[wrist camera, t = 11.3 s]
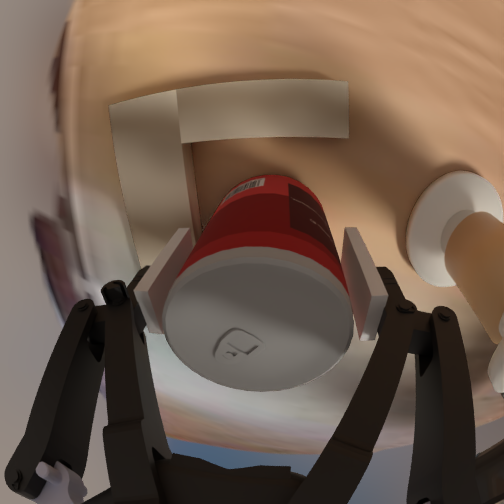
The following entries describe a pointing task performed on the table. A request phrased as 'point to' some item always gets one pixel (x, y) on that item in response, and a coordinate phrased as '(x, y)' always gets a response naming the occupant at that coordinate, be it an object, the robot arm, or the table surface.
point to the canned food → (262, 291)
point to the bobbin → (464, 250)
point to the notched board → (206, 129)
